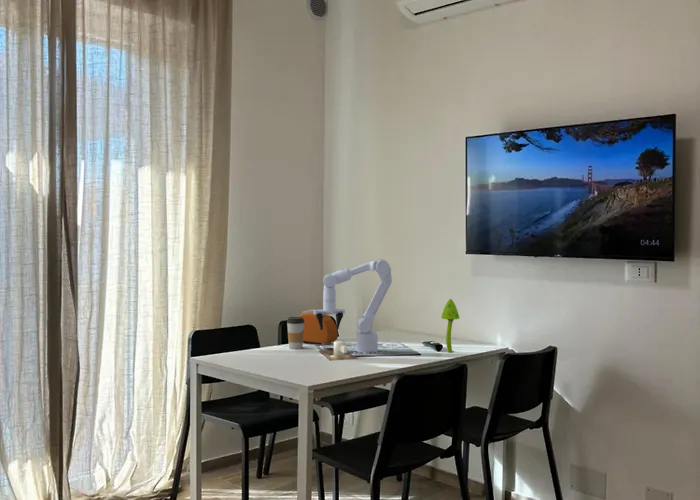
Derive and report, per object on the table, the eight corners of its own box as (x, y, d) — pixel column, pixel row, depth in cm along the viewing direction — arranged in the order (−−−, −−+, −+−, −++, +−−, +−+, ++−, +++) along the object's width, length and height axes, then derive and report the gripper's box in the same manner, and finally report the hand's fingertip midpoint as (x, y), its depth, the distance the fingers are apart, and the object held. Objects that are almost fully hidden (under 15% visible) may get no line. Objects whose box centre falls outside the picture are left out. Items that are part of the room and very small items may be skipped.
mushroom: (462, 352, 325) (463, 298, 324) (452, 354, 319) (453, 300, 318) (447, 349, 330) (448, 297, 329) (437, 352, 324) (437, 298, 323)
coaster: (347, 354, 315) (347, 353, 315) (352, 358, 307) (352, 357, 307) (328, 355, 313) (328, 354, 313) (332, 359, 304) (332, 358, 304)
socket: (341, 350, 324) (341, 347, 324) (346, 353, 316) (346, 350, 316) (323, 351, 322) (323, 348, 322) (328, 354, 314) (328, 351, 314)
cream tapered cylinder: (331, 355, 312) (331, 341, 312) (341, 354, 314) (341, 340, 314) (340, 358, 304) (340, 344, 304) (350, 357, 306) (350, 343, 306)
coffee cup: (301, 351, 327) (301, 319, 326) (284, 350, 329) (284, 318, 328) (306, 347, 335) (306, 316, 335) (289, 347, 337) (289, 316, 336)
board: (344, 350, 328) (344, 349, 328) (358, 360, 305) (358, 359, 305) (317, 352, 324) (317, 350, 324) (329, 361, 301) (329, 360, 301)
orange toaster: (338, 343, 347) (338, 310, 347) (328, 346, 340) (328, 312, 339) (299, 339, 359) (299, 307, 359) (289, 342, 352) (289, 309, 351)
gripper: (342, 299, 330) (342, 327, 331) (312, 299, 326) (312, 328, 327) (346, 300, 324) (346, 329, 324) (315, 301, 320) (315, 330, 320)
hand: (329, 329), depth 325 cm, fingers open, 7 cm apart
